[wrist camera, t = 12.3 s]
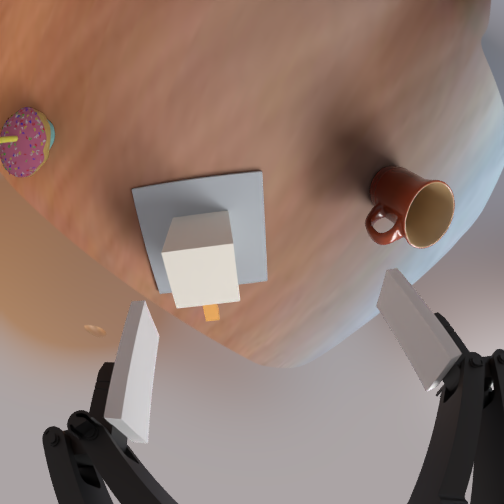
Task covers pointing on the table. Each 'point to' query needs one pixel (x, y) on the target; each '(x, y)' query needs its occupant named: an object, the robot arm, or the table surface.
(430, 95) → the table surface
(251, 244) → the post base
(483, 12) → the table surface
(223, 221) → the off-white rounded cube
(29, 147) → the cupcake
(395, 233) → the mug
